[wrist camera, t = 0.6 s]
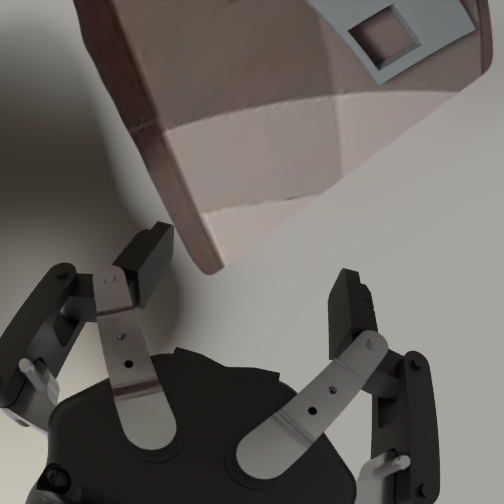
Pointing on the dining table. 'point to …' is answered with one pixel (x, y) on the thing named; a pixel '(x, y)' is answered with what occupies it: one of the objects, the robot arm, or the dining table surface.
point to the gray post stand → (412, 19)
